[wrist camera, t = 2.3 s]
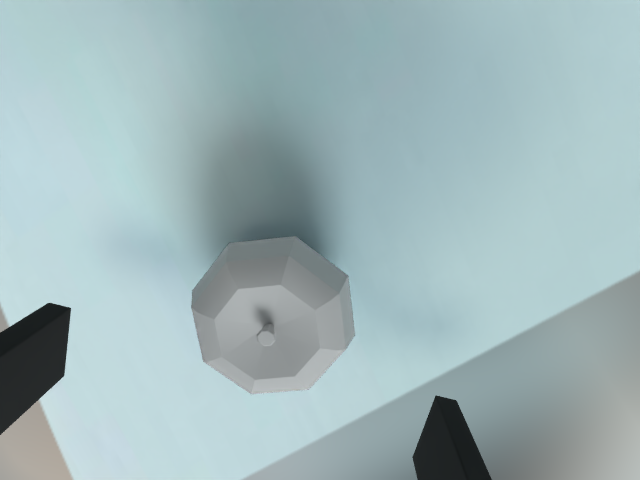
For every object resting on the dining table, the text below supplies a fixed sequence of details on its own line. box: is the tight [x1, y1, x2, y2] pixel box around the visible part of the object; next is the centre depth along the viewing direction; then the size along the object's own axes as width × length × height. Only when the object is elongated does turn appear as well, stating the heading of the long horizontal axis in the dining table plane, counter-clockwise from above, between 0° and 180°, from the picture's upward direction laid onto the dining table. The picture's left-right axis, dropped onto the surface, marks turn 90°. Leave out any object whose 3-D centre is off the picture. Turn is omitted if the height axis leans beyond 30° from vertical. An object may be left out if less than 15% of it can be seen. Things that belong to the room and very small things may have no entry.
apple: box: [191, 236, 355, 394], centre depth 21 cm, size 8×8×7 cm
